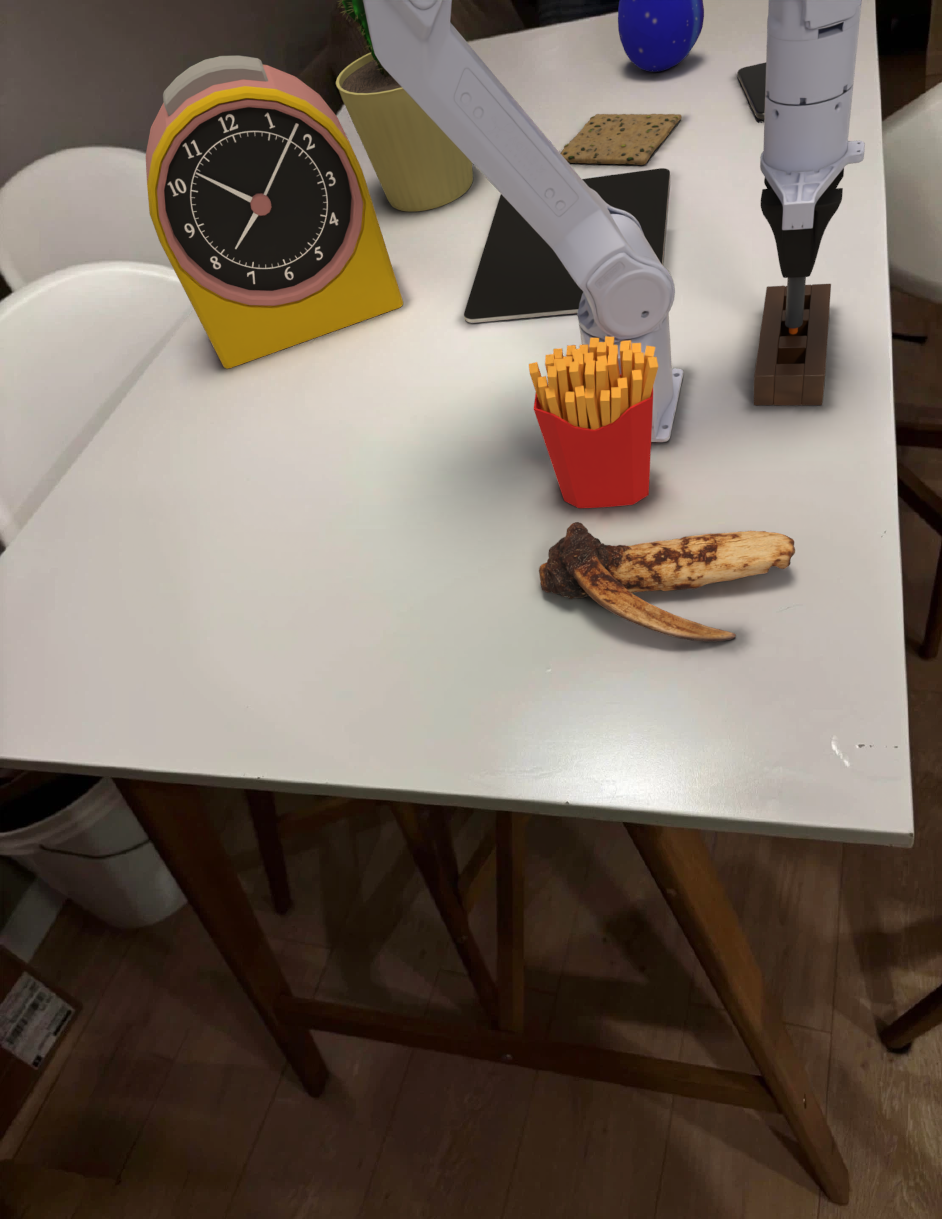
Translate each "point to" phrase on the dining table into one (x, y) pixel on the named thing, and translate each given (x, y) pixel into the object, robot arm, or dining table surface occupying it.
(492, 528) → the dining table surface
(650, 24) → the ornament
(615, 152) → the cookie
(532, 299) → the tablet
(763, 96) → the smartphone
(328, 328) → the alarm clock
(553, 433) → the french fries
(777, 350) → the stand
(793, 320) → the stylus
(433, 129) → the potted cactus
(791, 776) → the dining table surface
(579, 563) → the lashed bone hook
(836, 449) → the dining table surface
